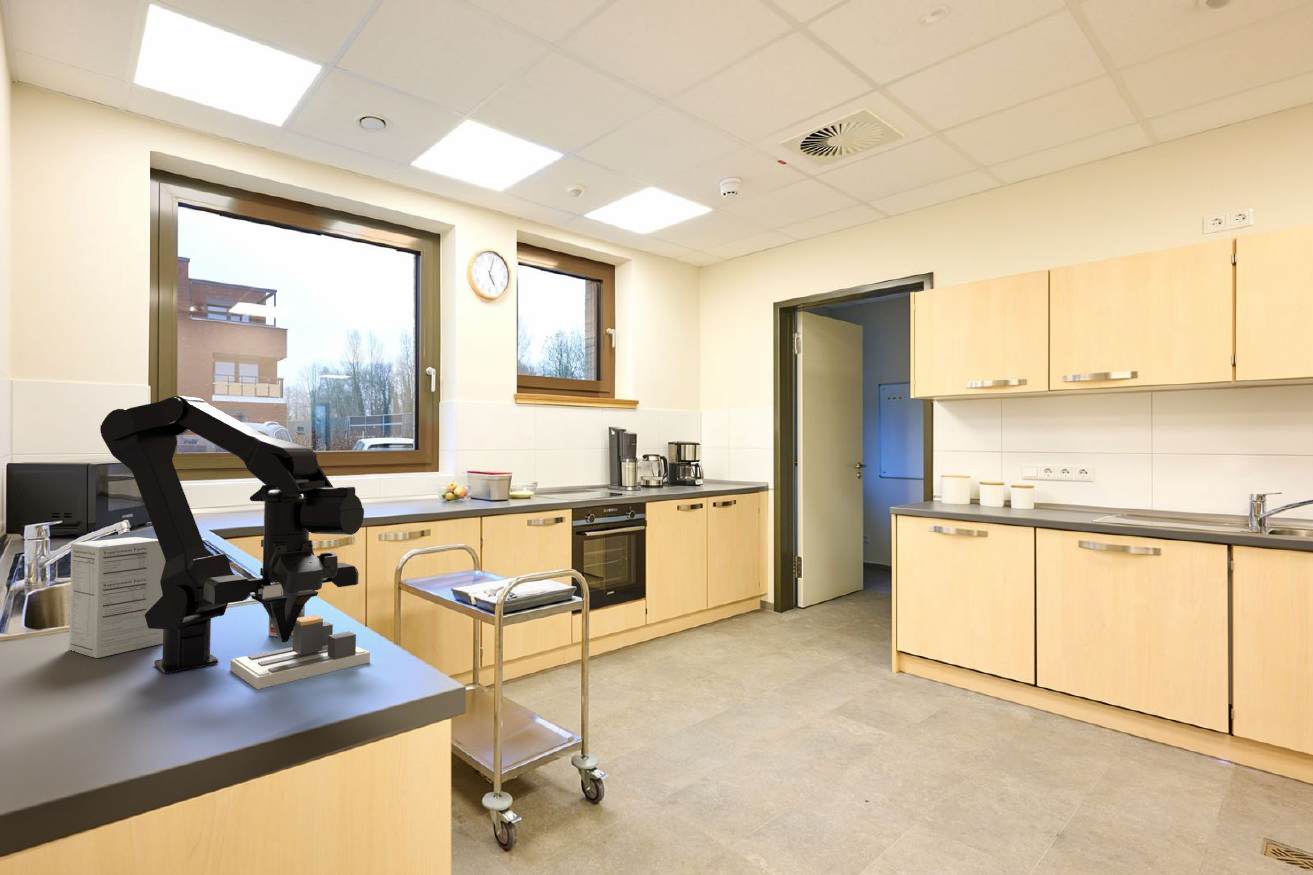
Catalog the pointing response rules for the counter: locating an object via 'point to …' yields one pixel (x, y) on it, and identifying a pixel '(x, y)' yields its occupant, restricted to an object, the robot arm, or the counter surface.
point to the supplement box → (114, 595)
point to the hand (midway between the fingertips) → (284, 642)
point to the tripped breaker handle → (308, 634)
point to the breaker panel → (301, 661)
